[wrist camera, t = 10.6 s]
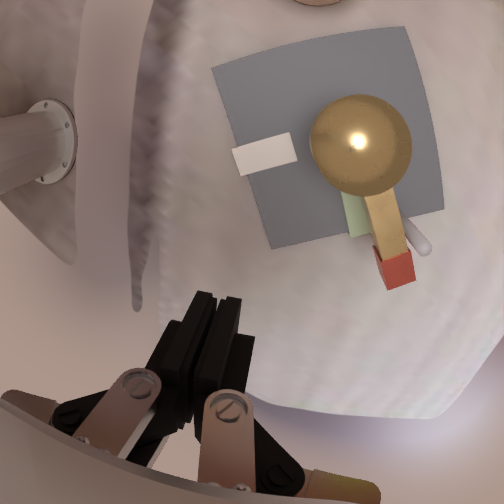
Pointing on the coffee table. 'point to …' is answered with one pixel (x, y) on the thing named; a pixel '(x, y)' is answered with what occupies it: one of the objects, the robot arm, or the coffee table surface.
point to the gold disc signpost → (368, 171)
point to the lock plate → (300, 121)
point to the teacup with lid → (318, 2)
